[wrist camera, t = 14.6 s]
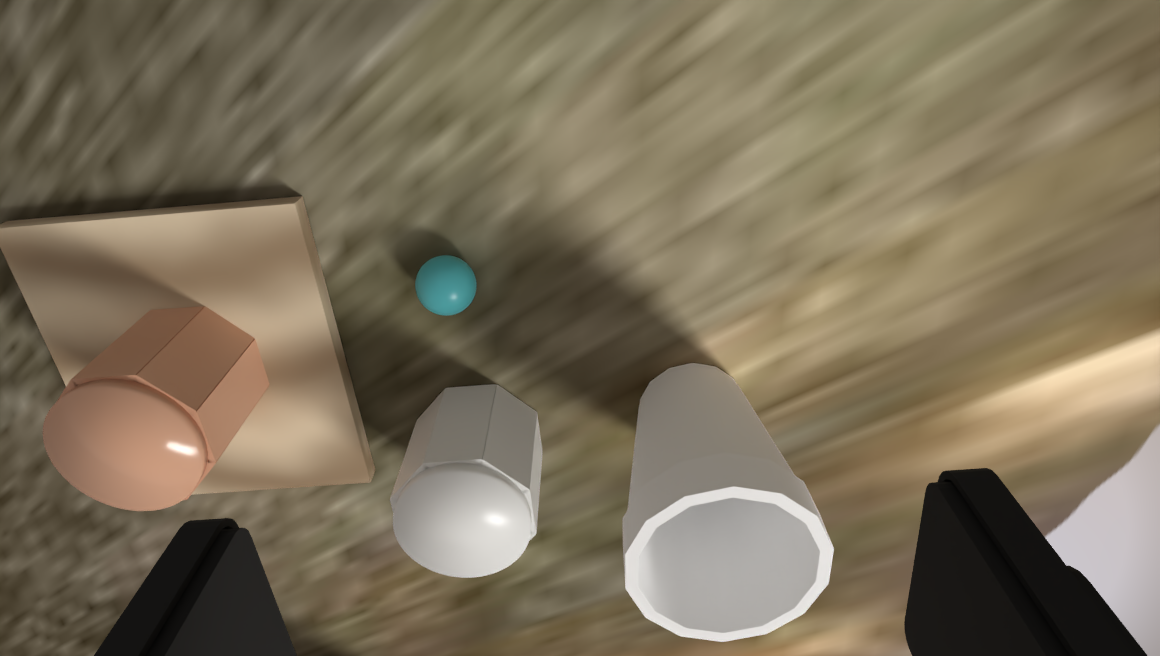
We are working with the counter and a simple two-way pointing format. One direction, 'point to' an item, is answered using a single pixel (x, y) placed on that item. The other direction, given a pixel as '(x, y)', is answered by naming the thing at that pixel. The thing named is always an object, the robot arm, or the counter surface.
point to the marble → (445, 285)
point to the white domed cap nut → (469, 482)
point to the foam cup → (717, 514)
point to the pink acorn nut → (155, 409)
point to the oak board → (227, 287)
